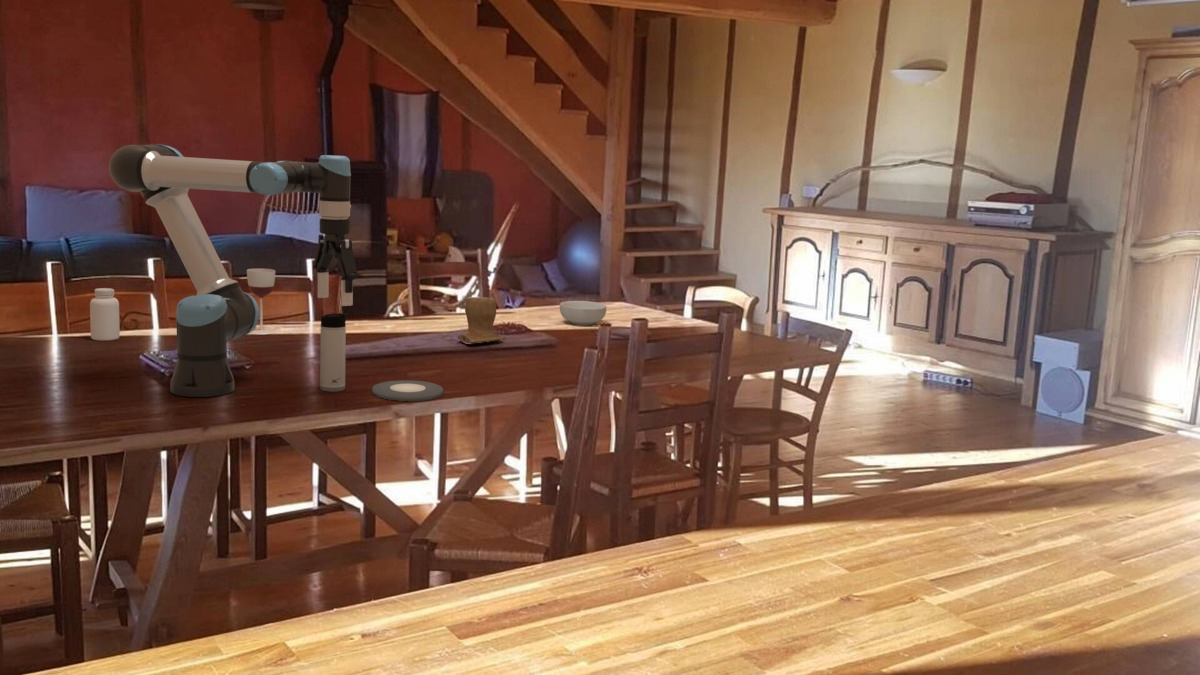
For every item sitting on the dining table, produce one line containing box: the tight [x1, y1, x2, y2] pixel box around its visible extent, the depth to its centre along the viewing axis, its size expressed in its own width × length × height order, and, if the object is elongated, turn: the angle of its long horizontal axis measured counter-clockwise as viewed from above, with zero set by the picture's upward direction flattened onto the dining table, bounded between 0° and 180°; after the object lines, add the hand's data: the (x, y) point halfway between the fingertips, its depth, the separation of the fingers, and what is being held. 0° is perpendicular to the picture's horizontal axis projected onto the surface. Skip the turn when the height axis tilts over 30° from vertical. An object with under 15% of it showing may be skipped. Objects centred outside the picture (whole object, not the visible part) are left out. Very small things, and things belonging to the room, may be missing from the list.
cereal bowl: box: [559, 300, 607, 326], centre depth 396 cm, size 17×17×7 cm
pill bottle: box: [89, 287, 121, 342], centre depth 326 cm, size 8×8×15 cm
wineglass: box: [246, 268, 276, 335], centre depth 347 cm, size 8×9×20 cm
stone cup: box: [457, 296, 504, 343], centre depth 351 cm, size 15×12×15 cm
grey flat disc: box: [371, 379, 444, 403], centre depth 282 cm, size 18×18×1 cm
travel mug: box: [319, 312, 348, 393], centre depth 280 cm, size 6×7×20 cm
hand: (334, 301), depth 277 cm, fingers open, 13 cm apart
